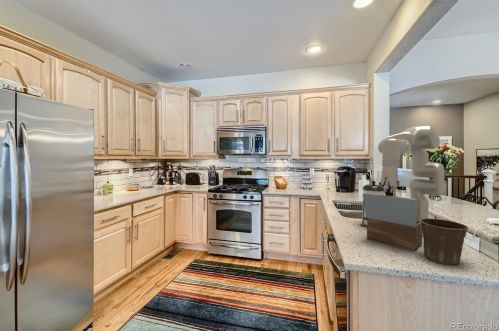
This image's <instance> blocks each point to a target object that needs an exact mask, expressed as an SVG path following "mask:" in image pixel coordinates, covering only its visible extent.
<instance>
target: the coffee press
mask: <svg viewBox="0 0 499 331" xmlns="http://www.w3.org/2000/svg"><path fill="white" fill-rule="evenodd" d="M364 193H369V194H378V195H385V186H381V184H376V181H375V180H372V181H371V184H364V185H363V187H362V211H361V212H362V215H361V216H362V217H361V218H362V220H361V222H362V223H361V224H360V226H361V227H362V226H364V227H365V226H367V218H366V213H365V202H364Z"/></svg>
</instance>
